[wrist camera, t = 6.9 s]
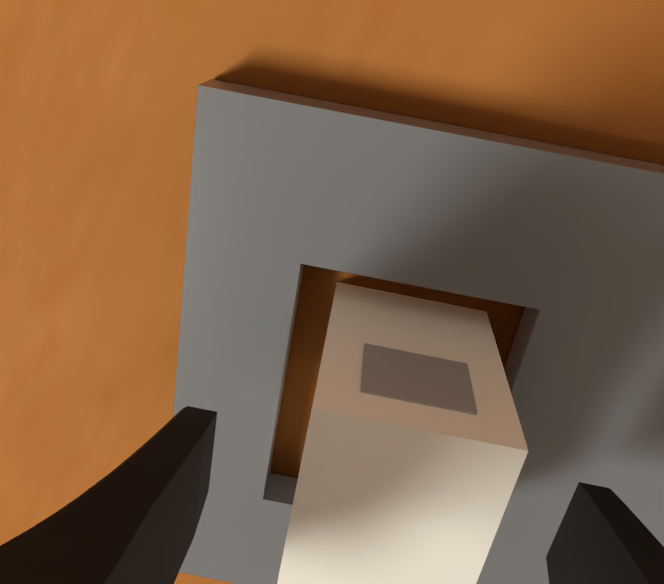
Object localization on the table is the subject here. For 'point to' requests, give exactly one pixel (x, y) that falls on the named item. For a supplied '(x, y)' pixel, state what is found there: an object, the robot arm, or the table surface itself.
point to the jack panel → (429, 272)
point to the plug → (403, 446)
